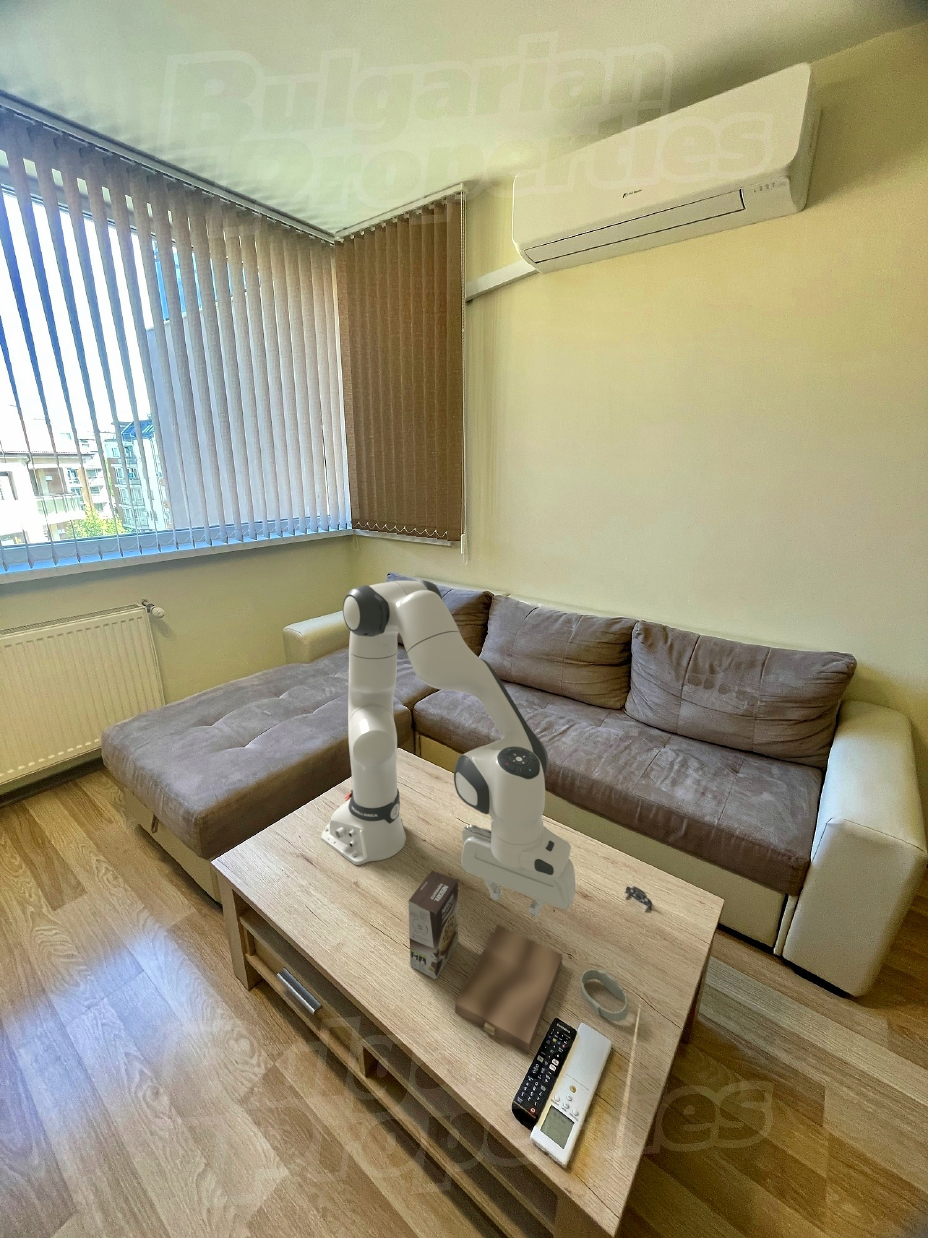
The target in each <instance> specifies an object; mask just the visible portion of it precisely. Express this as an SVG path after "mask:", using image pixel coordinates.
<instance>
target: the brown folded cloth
mask: <svg viewBox="0 0 928 1238" xmlns="http://www.w3.org/2000/svg"><path fill="white" fill-rule="evenodd" d="M562 965H563V954H562V953H560V952H558V951H555V950H554V949H551V948H549V947H547V946H545V945H543V944H540V943H538V942H536V941H534V940H531V939H529V938H528V937H526V936H523V935H521V934H518V933H517V932H514V931H512V930H510V929H508V928H505V927H504V926H501V925H498V924H497V925H496V927H495V929H494V931H493V933H492V935H491V937H490V938H489V940H488V942H487V944H486V946H485V948H484V949H483V951H482V953H481V954H480V957H479V958H478V960H477V962H476V964H475V965H474V967H473V969H472V972H471V973H470V975H469V976H468V978H467V980H466V982H465V984H464V986H463V988H462V989H461V991H460V993H459V995H458V997H457V998H456V1001H455V1002H454V1003H455V1004H454V1005H455V1006H454V1007H455V1010H454V1011H455V1012H454V1013H456V1014H457V1015H458V1016H461V1017H463V1018H464V1019H466V1020H467V1021H470V1023H473V1024H474V1025H476V1026H478V1027H479V1028H481V1029H483V1030H484V1031H485V1032H486V1033H488V1034H490V1035H491V1036H492V1037H493V1036H495V1037H496V1038H497V1039H498V1038H499V1039H501V1040H502V1041H504V1042H505V1043H507V1044H509V1045H511V1046H512V1047H514V1048H516V1049H518V1050H519V1051H521V1052H522V1053H523V1054H526V1055H529V1053H530V1050H531V1049H532V1046H533V1043H534V1041H535V1038H536V1035H537V1033H538V1030H539V1028H540V1027H539V1026H540V1025H541V1021H542V1019H543V1017H544V1014H545V1011H546V1008H547V1006H548V1003H549V999H550V998H551V994H552V991H553V989H554V986H555V984H556V982H557V978H558V975H559V974H560V971H561V967H562Z"/></svg>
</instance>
